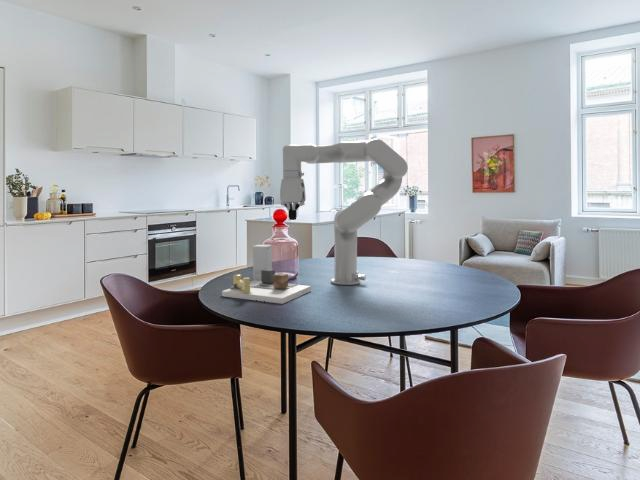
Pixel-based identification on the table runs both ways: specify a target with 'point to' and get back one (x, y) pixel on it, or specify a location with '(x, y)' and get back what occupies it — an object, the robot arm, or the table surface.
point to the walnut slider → (280, 280)
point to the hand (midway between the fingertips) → (292, 219)
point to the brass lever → (242, 283)
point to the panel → (268, 292)
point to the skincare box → (261, 260)
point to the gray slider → (267, 275)
